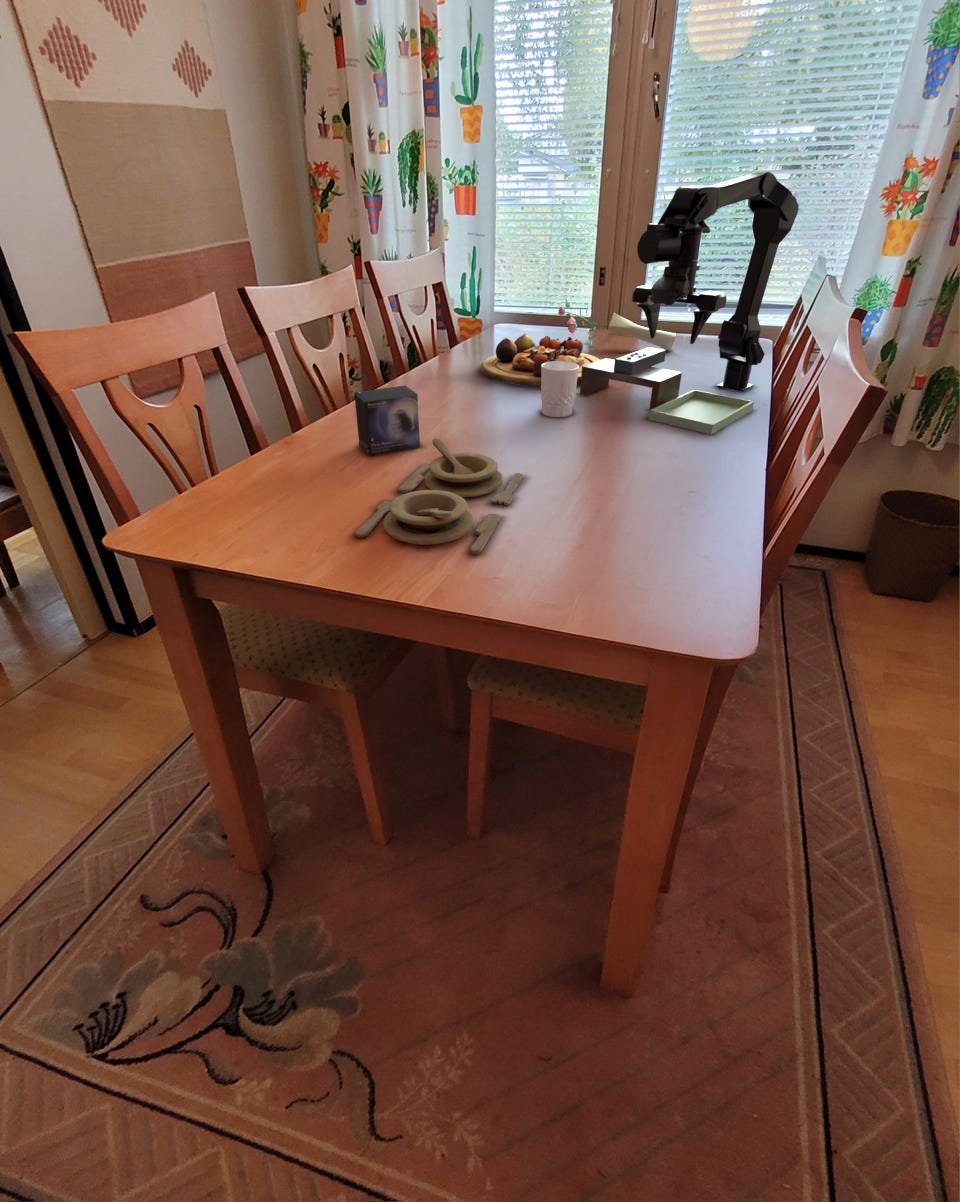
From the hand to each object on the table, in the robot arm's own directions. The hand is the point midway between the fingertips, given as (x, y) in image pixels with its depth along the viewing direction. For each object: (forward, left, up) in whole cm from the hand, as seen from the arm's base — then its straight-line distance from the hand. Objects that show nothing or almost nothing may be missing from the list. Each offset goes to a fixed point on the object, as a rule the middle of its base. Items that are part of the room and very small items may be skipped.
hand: (671, 340), depth 140 cm
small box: (+60, -26, -14) cm, 66 cm away
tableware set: (+71, 0, -14) cm, 72 cm away
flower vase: (-39, -38, -14) cm, 56 cm away
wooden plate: (-3, -37, -14) cm, 39 cm away
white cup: (+22, -14, -14) cm, 29 cm away
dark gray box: (-2, -8, -7) cm, 10 cm away
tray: (+3, +11, -13) cm, 17 cm away
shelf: (+2, -8, -13) cm, 16 cm away
